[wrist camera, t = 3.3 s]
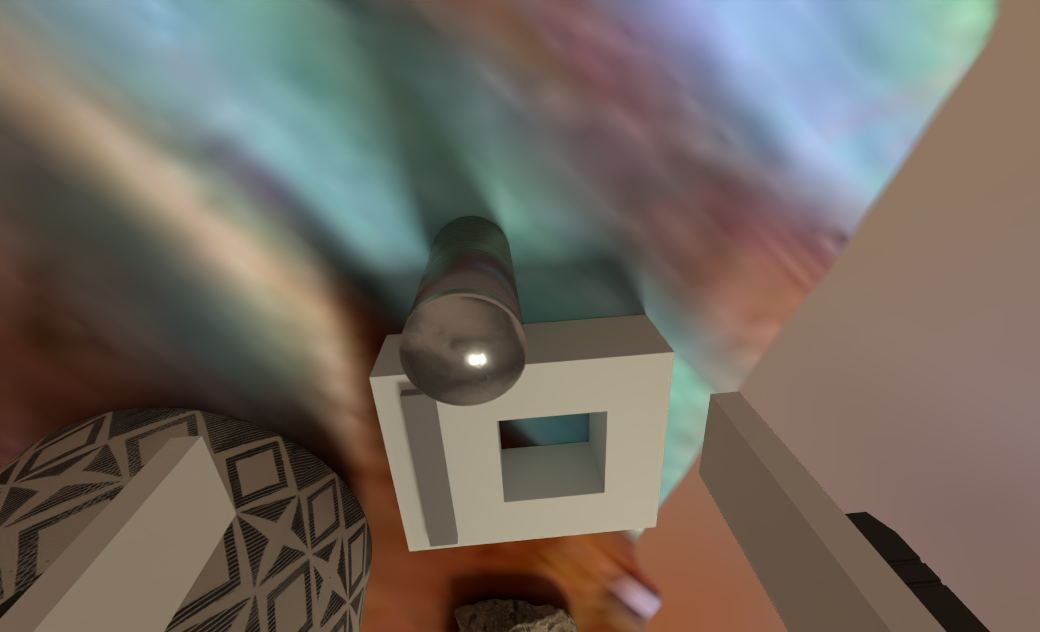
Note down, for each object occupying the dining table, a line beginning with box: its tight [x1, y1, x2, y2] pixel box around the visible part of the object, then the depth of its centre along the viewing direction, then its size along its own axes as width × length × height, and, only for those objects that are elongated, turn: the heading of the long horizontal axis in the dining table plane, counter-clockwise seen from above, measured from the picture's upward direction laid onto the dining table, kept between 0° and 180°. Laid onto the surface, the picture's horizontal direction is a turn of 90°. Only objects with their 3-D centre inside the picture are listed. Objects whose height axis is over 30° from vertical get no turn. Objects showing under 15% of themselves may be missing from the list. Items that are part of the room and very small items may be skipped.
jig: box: [369, 314, 674, 551], centre depth 30 cm, size 14×17×6 cm
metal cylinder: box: [399, 216, 528, 406], centre depth 22 cm, size 5×5×12 cm
